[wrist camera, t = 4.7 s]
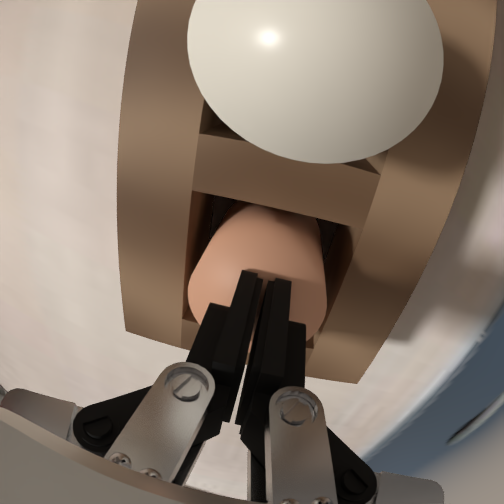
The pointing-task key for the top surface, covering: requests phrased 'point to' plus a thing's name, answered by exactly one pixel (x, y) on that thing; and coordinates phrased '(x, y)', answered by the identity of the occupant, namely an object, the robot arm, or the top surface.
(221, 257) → the brown egg
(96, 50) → the top surface
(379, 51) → the white rounded block
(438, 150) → the wooden compartment tray
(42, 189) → the top surface
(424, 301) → the top surface
